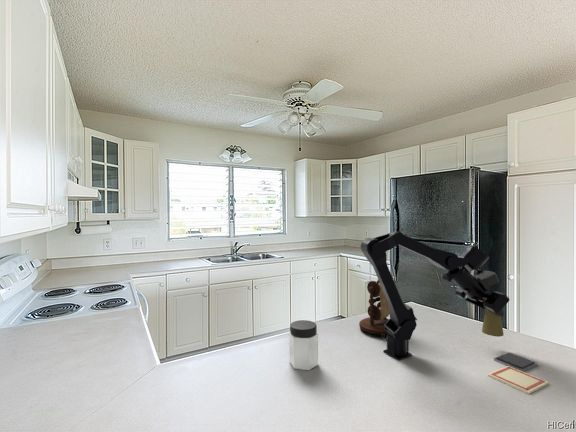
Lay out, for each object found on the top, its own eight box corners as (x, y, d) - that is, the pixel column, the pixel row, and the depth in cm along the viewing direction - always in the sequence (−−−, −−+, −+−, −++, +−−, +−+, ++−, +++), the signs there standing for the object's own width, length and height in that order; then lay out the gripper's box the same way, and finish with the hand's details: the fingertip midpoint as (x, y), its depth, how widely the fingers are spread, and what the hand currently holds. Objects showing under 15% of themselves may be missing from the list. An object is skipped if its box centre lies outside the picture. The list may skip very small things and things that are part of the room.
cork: (503, 338, 99) (503, 303, 99) (480, 333, 102) (481, 300, 102) (504, 332, 103) (504, 299, 103) (482, 328, 107) (483, 296, 107)
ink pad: (523, 371, 88) (523, 368, 88) (493, 360, 96) (493, 357, 96) (537, 365, 92) (537, 362, 92) (508, 354, 99) (508, 351, 99)
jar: (286, 359, 98) (286, 321, 97) (310, 355, 100) (310, 318, 100) (295, 372, 89) (295, 331, 89) (321, 368, 91) (321, 328, 91)
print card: (528, 394, 78) (528, 391, 78) (487, 375, 87) (487, 373, 87) (548, 383, 82) (548, 381, 82) (507, 367, 91) (507, 365, 91)
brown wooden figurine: (385, 341, 110) (385, 286, 110) (351, 330, 121) (351, 279, 121) (405, 331, 120) (405, 279, 120) (372, 321, 131) (372, 274, 131)
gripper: (503, 268, 93) (537, 303, 94) (463, 259, 112) (491, 288, 113) (479, 294, 92) (513, 330, 93) (442, 281, 111) (471, 311, 112)
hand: (496, 313), depth 103 cm, fingers closed on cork, 5 cm apart
